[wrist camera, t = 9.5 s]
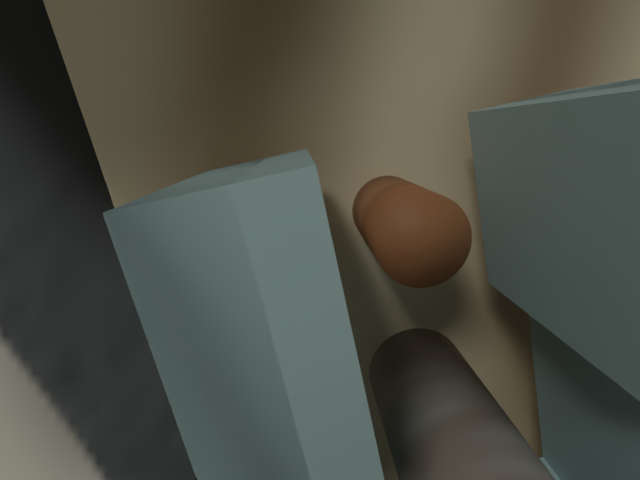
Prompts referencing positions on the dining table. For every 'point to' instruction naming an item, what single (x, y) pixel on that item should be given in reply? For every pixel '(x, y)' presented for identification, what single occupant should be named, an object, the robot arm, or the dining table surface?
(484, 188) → the u-shaped channel block
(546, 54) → the board
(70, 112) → the dining table surface
